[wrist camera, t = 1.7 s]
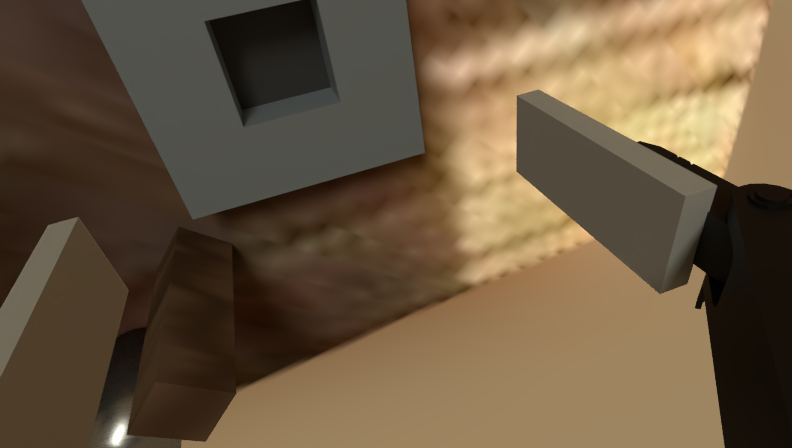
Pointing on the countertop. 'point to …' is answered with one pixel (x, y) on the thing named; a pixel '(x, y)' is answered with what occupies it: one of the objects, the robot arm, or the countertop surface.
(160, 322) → the wooden square peg
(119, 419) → the round bit
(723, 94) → the countertop surface
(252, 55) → the socket plate
